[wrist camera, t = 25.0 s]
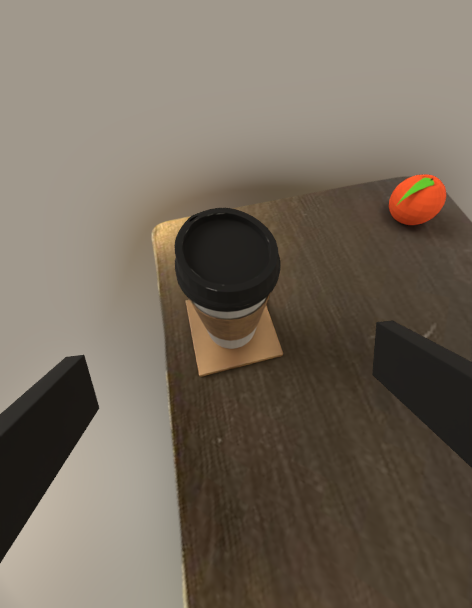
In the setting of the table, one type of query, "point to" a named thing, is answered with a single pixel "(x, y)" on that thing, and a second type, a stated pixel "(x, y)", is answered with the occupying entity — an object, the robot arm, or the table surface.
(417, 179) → the clementine
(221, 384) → the table surface
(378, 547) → the table surface
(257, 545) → the table surface
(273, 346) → the trivet
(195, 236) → the coffee cup
